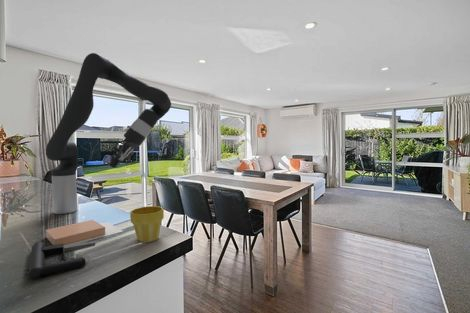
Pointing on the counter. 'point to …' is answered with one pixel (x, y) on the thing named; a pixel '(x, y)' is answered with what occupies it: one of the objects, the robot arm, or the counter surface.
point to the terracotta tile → (74, 232)
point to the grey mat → (108, 231)
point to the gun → (41, 269)
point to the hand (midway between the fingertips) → (112, 166)
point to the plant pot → (147, 222)
